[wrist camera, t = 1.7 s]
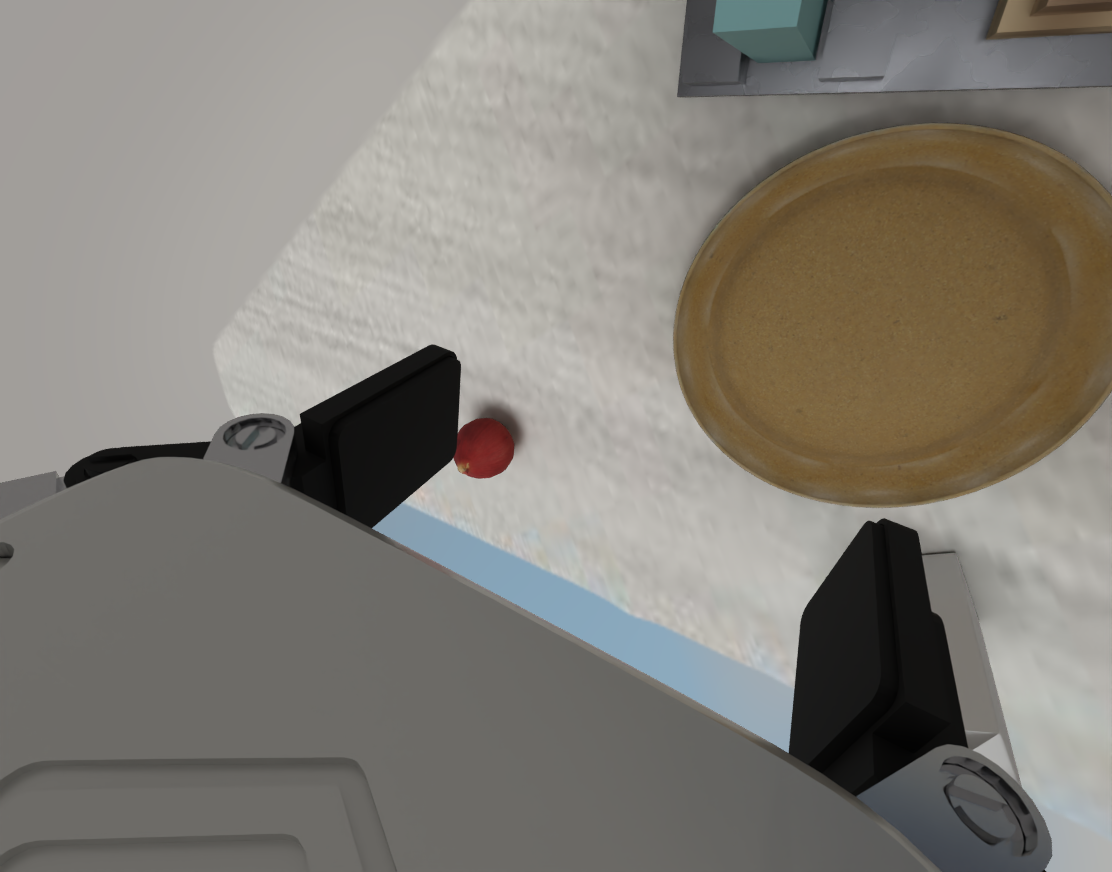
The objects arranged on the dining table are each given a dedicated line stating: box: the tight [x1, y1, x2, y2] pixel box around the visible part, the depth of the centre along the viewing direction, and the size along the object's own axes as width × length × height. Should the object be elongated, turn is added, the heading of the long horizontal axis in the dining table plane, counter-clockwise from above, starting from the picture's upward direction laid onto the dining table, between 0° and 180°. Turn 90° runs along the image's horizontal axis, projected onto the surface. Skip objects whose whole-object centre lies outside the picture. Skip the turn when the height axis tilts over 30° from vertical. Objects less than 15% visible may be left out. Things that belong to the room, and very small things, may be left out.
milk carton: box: [922, 553, 1022, 787], centre depth 34 cm, size 7×7×19 cm
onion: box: [453, 418, 514, 478], centre depth 50 cm, size 6×6×8 cm
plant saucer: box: [673, 123, 1112, 508], centre depth 33 cm, size 24×24×3 cm
